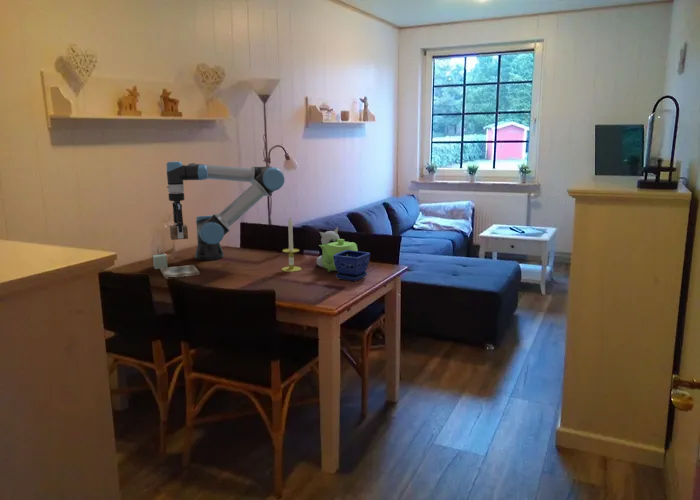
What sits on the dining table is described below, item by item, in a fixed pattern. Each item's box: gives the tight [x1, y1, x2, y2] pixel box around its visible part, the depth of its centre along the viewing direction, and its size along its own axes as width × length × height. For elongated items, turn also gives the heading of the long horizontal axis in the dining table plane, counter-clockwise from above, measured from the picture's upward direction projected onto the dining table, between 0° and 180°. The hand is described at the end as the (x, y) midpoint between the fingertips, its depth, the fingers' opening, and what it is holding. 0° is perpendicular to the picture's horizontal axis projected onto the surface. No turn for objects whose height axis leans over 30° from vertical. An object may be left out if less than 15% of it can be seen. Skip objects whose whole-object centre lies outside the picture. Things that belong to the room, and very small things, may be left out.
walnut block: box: [169, 224, 189, 241], centre depth 283 cm, size 8×8×6 cm
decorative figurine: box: [315, 227, 341, 268], centre depth 283 cm, size 15×15×20 cm
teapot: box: [318, 238, 359, 273], centre depth 274 cm, size 25×22×16 cm
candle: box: [281, 216, 302, 273], centre depth 275 cm, size 10×10×27 cm
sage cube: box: [152, 253, 169, 270], centre depth 282 cm, size 6×6×6 cm
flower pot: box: [333, 250, 371, 282], centre depth 260 cm, size 13×13×12 cm
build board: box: [159, 264, 200, 280], centre depth 271 cm, size 16×16×2 cm
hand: (179, 236), depth 284 cm, fingers closed on walnut block, 8 cm apart
